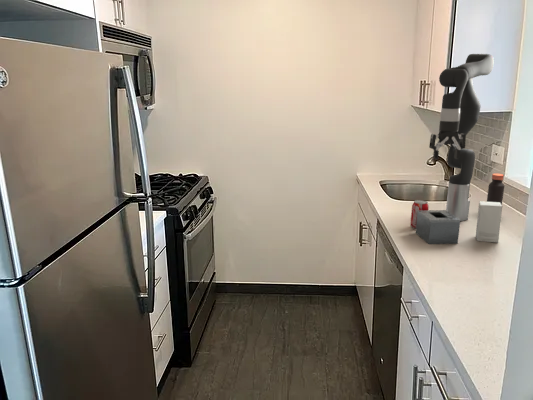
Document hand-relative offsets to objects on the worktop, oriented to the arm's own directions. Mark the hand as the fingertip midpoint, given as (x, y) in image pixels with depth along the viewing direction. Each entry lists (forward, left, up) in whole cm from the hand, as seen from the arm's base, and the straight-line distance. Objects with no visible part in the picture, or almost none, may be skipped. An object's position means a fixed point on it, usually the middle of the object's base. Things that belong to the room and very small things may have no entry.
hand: (446, 158), depth 193 cm
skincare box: (-15, +12, -32) cm, 37 cm away
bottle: (-37, -23, -32) cm, 54 cm away
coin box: (+5, +9, -32) cm, 33 cm away
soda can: (+7, -5, -32) cm, 33 cm away
